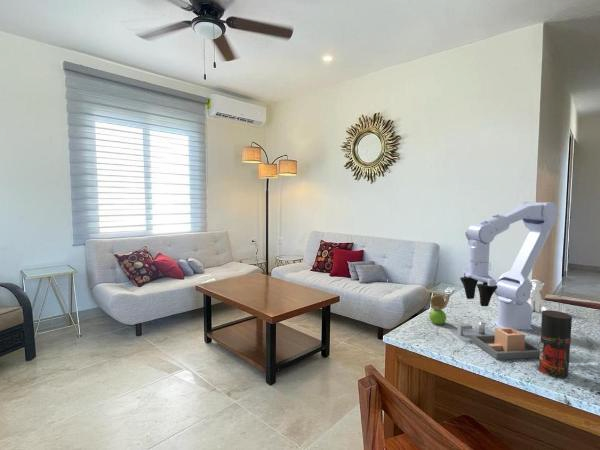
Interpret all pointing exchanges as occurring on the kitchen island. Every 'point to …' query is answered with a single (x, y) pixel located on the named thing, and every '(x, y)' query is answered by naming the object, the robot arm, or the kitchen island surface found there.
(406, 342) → the kitchen island surface
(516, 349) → the orange hollow square box
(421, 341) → the kitchen island surface
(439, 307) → the green base glass goblet
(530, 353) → the tray
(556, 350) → the deodorant
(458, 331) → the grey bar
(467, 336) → the slate board
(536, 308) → the white creature statuette
